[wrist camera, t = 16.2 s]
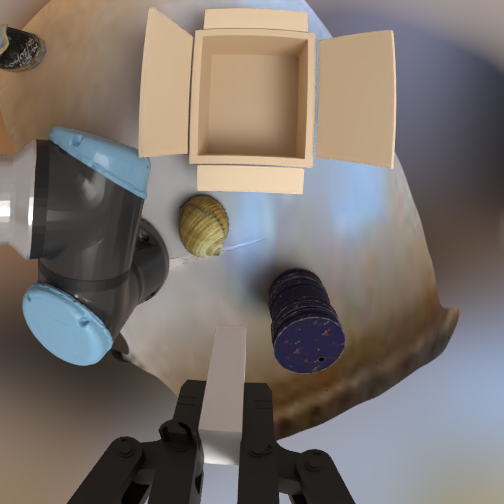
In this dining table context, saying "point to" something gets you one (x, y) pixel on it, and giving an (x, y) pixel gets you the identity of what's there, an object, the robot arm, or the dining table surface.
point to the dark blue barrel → (303, 323)
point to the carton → (253, 100)
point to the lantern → (19, 49)
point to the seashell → (203, 226)
